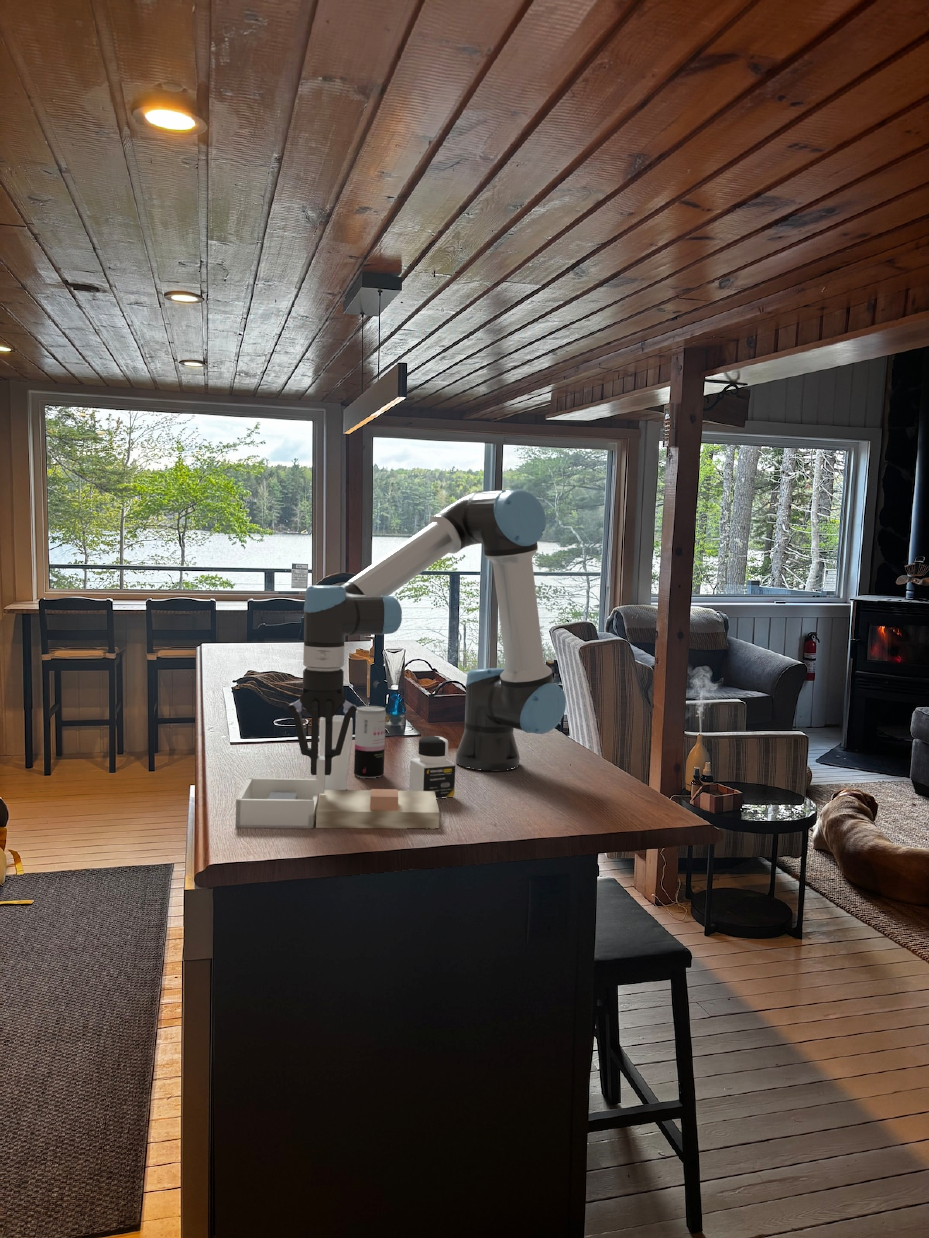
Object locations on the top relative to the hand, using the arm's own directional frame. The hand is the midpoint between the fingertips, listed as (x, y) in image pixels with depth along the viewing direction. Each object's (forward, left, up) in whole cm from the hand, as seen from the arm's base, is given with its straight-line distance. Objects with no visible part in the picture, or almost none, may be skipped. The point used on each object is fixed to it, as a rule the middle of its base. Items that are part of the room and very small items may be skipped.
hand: (320, 791), depth 166 cm
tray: (+7, +3, -4) cm, 9 cm away
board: (-11, +3, -4) cm, 12 cm away
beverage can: (-9, -27, -4) cm, 29 cm away
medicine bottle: (-22, -12, -4) cm, 25 cm away
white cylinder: (-2, -15, -4) cm, 16 cm away
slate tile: (+7, 0, -1) cm, 7 cm away
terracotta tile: (-12, +6, -1) cm, 13 cm away
